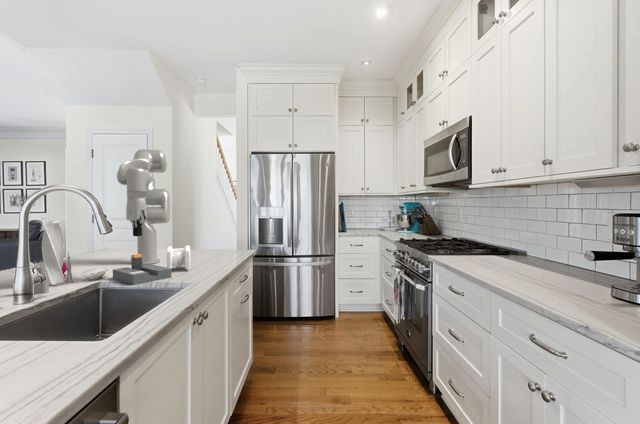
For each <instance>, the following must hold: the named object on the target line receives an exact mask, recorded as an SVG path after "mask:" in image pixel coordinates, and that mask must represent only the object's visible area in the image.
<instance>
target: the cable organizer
mask: <svg viewBox="0 0 640 424" xmlns="http://www.w3.org/2000/svg"><path fill="white" fill-rule="evenodd" d="M191 252H192V251H191V246H190V245H189V244H188V245H185V247H182V248H181V247H180V248H173V246H172V245H168V247H167V249H166V268H171V270H172V269H175V270H176V268H178V267H179V268H185V270H186V271H189V270H191Z"/></svg>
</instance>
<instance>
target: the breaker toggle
mask: <svg viewBox="0 0 640 424" xmlns="http://www.w3.org/2000/svg"><path fill="white" fill-rule="evenodd" d="M130 257H131V258H130V259H131V260H130V261H131V268H132V269H136V270H140V271H142V265H143V264H142V254H138V253H134V254H131V256H130Z"/></svg>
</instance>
